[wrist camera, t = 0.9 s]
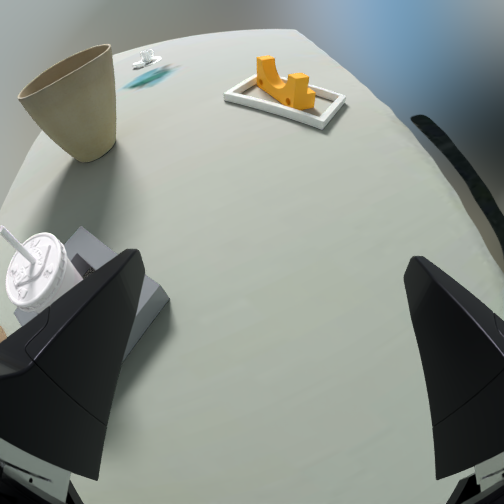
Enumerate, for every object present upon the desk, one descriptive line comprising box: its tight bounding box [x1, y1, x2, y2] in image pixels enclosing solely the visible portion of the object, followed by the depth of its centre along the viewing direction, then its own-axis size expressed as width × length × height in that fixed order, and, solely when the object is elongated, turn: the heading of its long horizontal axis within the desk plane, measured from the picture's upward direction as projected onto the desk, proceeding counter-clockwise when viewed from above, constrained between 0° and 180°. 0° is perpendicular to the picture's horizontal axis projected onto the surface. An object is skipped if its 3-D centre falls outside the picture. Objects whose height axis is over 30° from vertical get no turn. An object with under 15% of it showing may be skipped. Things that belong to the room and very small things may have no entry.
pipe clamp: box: [257, 56, 316, 110], centre depth 41 cm, size 12×4×6 cm, turn 28°
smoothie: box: [0, 225, 83, 313], centre depth 18 cm, size 6×6×14 cm
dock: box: [14, 226, 170, 362], centre depth 23 cm, size 13×13×3 cm
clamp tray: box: [223, 73, 346, 130], centre depth 43 cm, size 12×18×2 cm, turn 58°
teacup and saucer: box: [133, 49, 162, 68], centre depth 58 cm, size 9×8×4 cm
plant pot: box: [18, 44, 116, 163], centre depth 31 cm, size 15×15×16 cm
